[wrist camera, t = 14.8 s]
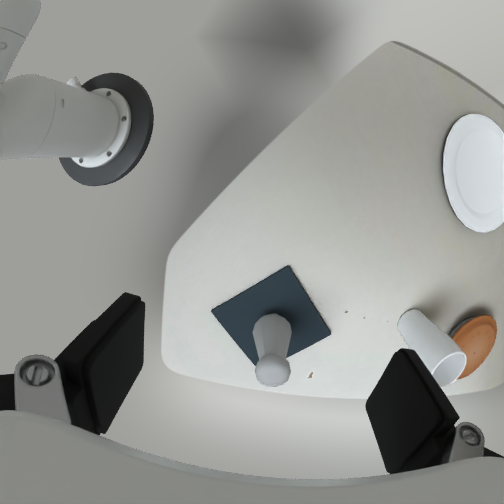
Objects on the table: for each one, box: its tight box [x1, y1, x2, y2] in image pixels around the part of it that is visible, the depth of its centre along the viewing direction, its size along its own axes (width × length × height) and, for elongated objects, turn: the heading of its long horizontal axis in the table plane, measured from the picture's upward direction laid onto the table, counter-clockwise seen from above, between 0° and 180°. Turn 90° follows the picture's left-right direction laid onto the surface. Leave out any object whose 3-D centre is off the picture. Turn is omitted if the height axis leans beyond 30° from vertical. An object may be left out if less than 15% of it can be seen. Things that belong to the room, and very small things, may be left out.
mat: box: [211, 265, 331, 366], centre depth 44 cm, size 14×14×1 cm
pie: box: [449, 315, 497, 380], centre depth 41 cm, size 15×16×5 cm
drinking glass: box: [398, 309, 467, 388], centre depth 36 cm, size 7×7×15 cm
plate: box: [443, 114, 504, 233], centre depth 34 cm, size 21×21×2 cm
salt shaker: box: [253, 313, 292, 387], centre depth 37 cm, size 6×6×13 cm
